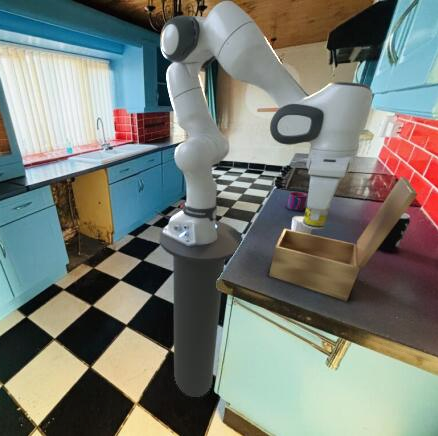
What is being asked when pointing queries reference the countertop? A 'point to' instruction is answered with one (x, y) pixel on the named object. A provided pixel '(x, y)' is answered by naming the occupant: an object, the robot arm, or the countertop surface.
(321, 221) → the supplement bottle
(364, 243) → the chest lid
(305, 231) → the white fluted cylinder
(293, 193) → the mug
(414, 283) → the countertop surface
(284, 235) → the chest
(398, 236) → the beverage can
